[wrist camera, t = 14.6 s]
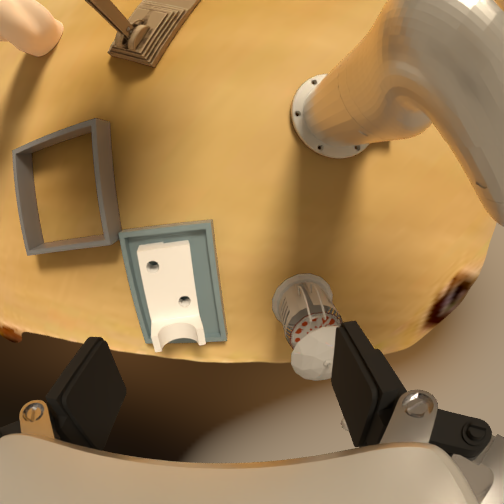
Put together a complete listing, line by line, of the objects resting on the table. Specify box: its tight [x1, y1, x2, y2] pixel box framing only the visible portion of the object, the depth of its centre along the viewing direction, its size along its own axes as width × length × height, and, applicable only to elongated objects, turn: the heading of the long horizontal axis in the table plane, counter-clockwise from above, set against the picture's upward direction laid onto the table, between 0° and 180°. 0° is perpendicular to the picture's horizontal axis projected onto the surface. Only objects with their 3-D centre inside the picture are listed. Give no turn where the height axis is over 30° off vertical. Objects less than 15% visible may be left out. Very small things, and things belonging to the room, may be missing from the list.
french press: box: [272, 274, 349, 431], centre depth 31 cm, size 10×12×25 cm
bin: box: [12, 118, 122, 256], centre depth 34 cm, size 18×18×4 cm
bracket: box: [137, 240, 206, 352], centre depth 37 cm, size 13×7×8 cm, turn 3°
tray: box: [118, 219, 228, 343], centre depth 41 cm, size 14×19×2 cm
